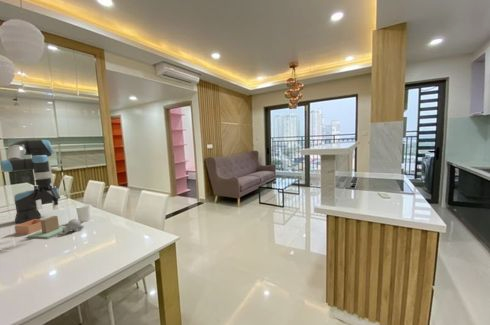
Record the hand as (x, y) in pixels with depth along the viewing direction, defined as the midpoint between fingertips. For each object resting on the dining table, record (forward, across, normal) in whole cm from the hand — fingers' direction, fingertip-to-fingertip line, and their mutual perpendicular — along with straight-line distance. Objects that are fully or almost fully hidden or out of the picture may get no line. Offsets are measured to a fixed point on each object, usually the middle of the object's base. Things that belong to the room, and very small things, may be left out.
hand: (47, 209), depth 143 cm
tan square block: (+16, -19, +2) cm, 26 cm away
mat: (+17, 0, 0) cm, 17 cm away
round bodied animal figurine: (+17, +14, +2) cm, 22 cm away
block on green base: (+16, 0, 0) cm, 16 cm away
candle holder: (+17, +4, +22) cm, 28 cm away
